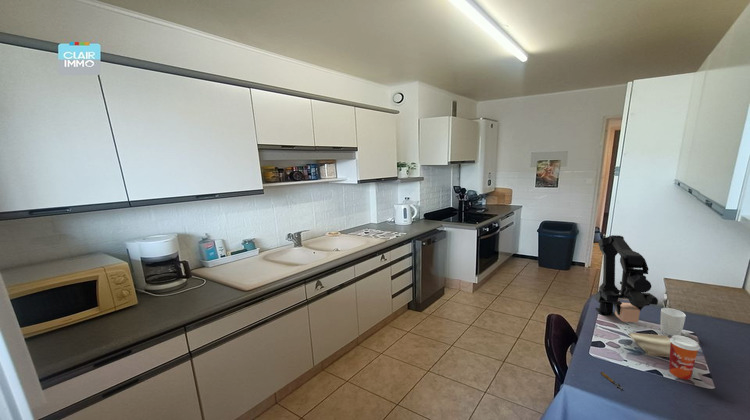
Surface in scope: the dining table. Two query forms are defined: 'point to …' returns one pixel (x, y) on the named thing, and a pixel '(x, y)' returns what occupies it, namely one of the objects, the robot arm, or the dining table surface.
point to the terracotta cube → (628, 313)
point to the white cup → (672, 321)
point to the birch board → (653, 344)
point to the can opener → (611, 380)
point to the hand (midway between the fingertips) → (626, 315)
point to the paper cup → (682, 356)
